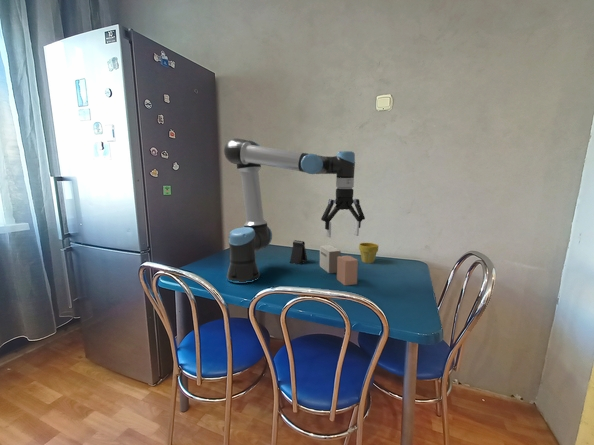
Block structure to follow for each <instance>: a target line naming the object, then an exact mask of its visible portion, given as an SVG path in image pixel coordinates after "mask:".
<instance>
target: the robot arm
mask: <svg viewBox="0 0 594 445" xmlns="http://www.w3.org/2000/svg"><path fill="white" fill-rule="evenodd" d="M223 153H224V156H225V158H226V160H227V161H228V162H230V163H231V164H234V165H236V171H238V172H239V173H240V178H241V185H242V186H241V188H242V194H243V195H242V196H243V204H244V210H245V211H244V212H245V219H246V221H245V223H244V224H243V227H237V228H234V229H232V230H231V231H230V232H229V236H228V245H229V247H228V248H229V266H228V270H227V274H226V279H227V278H228V279H229V280H232V281H239V282H246V281H252V280H255V279H257V278H259V276H261V275H260V273H261V272H260V271H259V267H258V265H257V262H256V253H257V252H259V251H261V250H263V249H265V248H267V247H268V246H269V245H270V244H271V242H272V240H273V232H272V230H271V228H270V227H269V226H268V221H266V220H265V218H264V211H263V201H262V195H261V194H262V193H261V192H262V191H261V184H260V176H259V171H260V169H261V168H262V166H268V167H272V168H277V169H278V168H279V169H284V170H291V171H296V172H302V173H306V174H309V175H336V177H335V182H336V183H335V187H336V189H335V199H328V203H327V206H326V208H325V211H323V214H322V216H321V218H320V219H321V221H322V222H324V226H325V227H324V229H325V230H326V237H327V238H332V222H331V221H332V220H333V218H334V217H335V215H337V213H338V212H339V211H340V210H341V211H342V210H343V211H344V210H348V211H350V214H352V216H353V217H354V219H355V220H354V227H353V228H354V229H353V231H354V232H353V235H354V236H356V237H358V236H359V234H360V233H359V232H360V228H361V227H362V226H361V224H362V222H363V220H365V219H366V217H365V214H364V211H363V209H362V207H361V206H362V205H361V204H360V203H361V202H360V199H358V198H354V199H353V197H354V183H355V167H356V160H355V159H356V157H355V152H354V151H350V150H347V151H346V150H342V151H338V152H337V154H336V156H335V155H334V156H327V155H326V156H323V155H319V154H317V153H316V154H314V153H306V152H301V151H296V150H295V151H293V150H287V149H281V148H280V149H279V148H275V147H267V146H261V145H260V144H259V143H257V142H255V141H253V140H250V139H249V140H248V139H242V138H238V137H237V138H235V137H234V138H231V139H230V140H228V141H227V142H226V144H225V145H224V148H223ZM353 204H354V207H355V208H354V207H353ZM333 206H334V207H333ZM332 208H333V209H332ZM355 209H356V210H355ZM259 279H260V278H259Z"/></svg>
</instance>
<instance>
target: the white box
mask: <svg viewBox="0 0 594 445" xmlns="http://www.w3.org/2000/svg"><path fill="white" fill-rule="evenodd" d="M341 254H342V252H341V250H339V249H338V248H336V247H334V246H332V245H330V244H329V245H320V246H319V267H320V269H321V268H322V269H323V270H324V271H325V272H327V273H328V274H337V256H342V255H341Z"/></svg>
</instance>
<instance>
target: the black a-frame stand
mask: <svg viewBox="0 0 594 445" xmlns="http://www.w3.org/2000/svg"><path fill="white" fill-rule="evenodd" d="M305 244H306V243H305V241H302V240H295V239H294V240H293V241H292V249H291V254H290V259H289V260H290V261H289V263H290V264H293V263H295V265H298V264H300V265H302V264H304V263H306V262H308V256H307V250H306V246H305ZM305 261H306V262H305ZM303 262H304V263H303ZM301 263H302V264H301Z"/></svg>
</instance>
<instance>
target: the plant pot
mask: <svg viewBox="0 0 594 445" xmlns="http://www.w3.org/2000/svg"><path fill="white" fill-rule="evenodd" d="M358 250H359V252H360V259H361V262H363V263H365V264H373V263H375V260H376V255H377V253H378V251H379V244H377V243H373V242H361V243H359V245H358Z"/></svg>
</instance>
